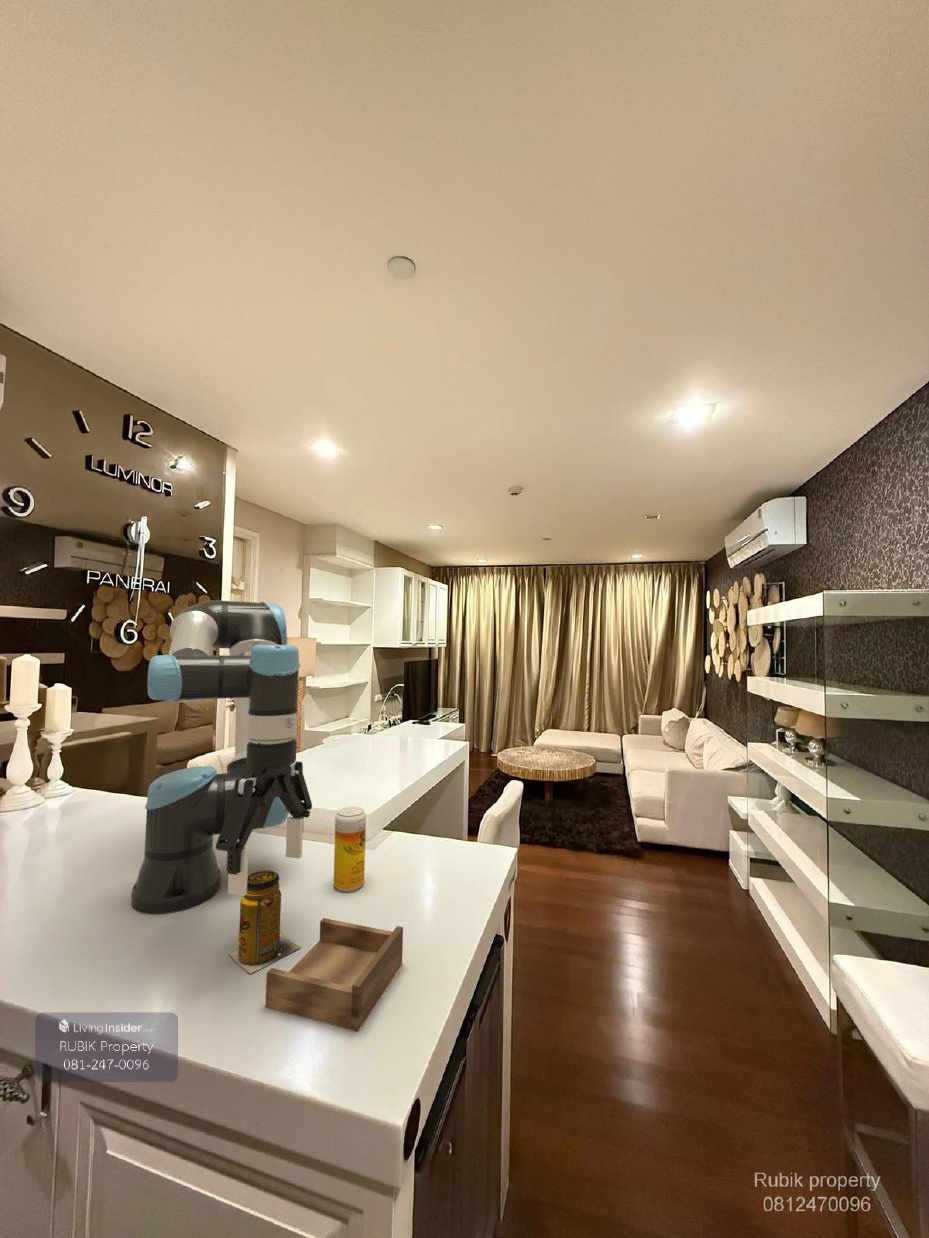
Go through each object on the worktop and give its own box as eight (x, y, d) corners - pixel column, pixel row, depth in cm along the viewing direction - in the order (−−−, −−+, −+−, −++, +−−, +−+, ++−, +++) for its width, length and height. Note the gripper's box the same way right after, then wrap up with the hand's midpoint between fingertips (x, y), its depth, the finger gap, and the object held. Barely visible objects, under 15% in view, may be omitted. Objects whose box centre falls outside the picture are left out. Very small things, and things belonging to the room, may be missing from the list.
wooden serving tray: (265, 1006, 67) (266, 964, 68) (322, 946, 81) (323, 911, 81) (358, 1031, 63) (359, 986, 64) (402, 963, 77) (403, 927, 77)
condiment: (227, 954, 78) (230, 876, 79) (277, 931, 85) (280, 859, 85) (250, 975, 74) (253, 892, 74) (301, 949, 80) (303, 873, 81)
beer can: (356, 895, 97) (358, 817, 98) (327, 891, 98) (330, 814, 99) (368, 880, 103) (370, 807, 104) (341, 877, 104) (343, 804, 105)
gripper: (236, 757, 68) (230, 917, 66) (333, 729, 92) (330, 846, 90) (191, 753, 70) (185, 908, 69) (298, 726, 94) (295, 841, 92)
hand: (267, 873), depth 79 cm, fingers open, 13 cm apart
